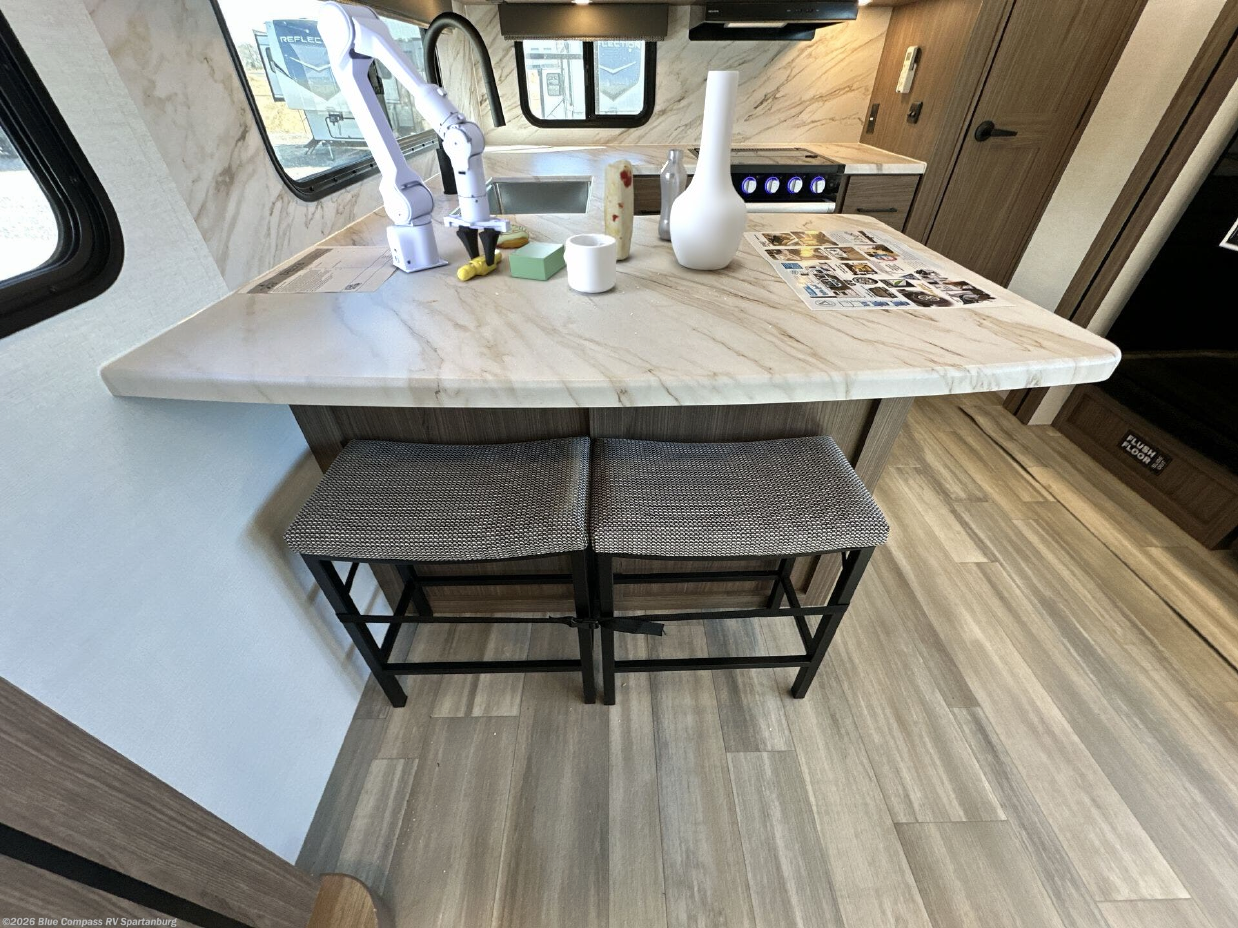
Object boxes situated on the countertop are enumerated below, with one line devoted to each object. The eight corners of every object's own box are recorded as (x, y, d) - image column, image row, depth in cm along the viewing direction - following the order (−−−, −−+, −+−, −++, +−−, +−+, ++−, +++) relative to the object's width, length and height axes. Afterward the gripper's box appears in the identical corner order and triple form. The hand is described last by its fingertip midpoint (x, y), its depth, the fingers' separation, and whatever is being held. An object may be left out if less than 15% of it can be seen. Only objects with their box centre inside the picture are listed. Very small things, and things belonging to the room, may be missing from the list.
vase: (659, 253, 122) (670, 70, 100) (725, 251, 124) (749, 71, 102) (677, 276, 109) (693, 71, 87) (750, 272, 111) (784, 71, 90)
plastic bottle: (683, 242, 130) (691, 152, 117) (657, 242, 130) (662, 151, 117) (682, 236, 135) (688, 148, 122) (656, 236, 135) (660, 148, 122)
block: (545, 280, 106) (543, 258, 103) (511, 276, 108) (508, 254, 105) (565, 265, 114) (564, 244, 112) (533, 262, 116) (531, 241, 113)
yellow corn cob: (471, 283, 105) (468, 268, 103) (455, 281, 105) (452, 266, 104) (508, 260, 117) (506, 247, 115) (493, 259, 118) (491, 245, 116)
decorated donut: (496, 251, 123) (494, 235, 120) (483, 241, 130) (480, 225, 127) (536, 246, 126) (535, 229, 124) (521, 236, 134) (519, 220, 131)
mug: (582, 273, 110) (580, 228, 104) (626, 279, 107) (627, 233, 101) (557, 291, 101) (554, 243, 95) (605, 298, 98) (604, 249, 93)
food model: (632, 264, 116) (634, 163, 103) (603, 263, 116) (602, 163, 103) (632, 251, 123) (635, 156, 111) (605, 251, 123) (604, 156, 111)
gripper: (430, 196, 100) (444, 266, 109) (495, 201, 97) (504, 273, 105) (449, 189, 106) (461, 257, 114) (512, 194, 102) (519, 263, 111)
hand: (483, 264), depth 110 cm, fingers closed on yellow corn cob, 3 cm apart
